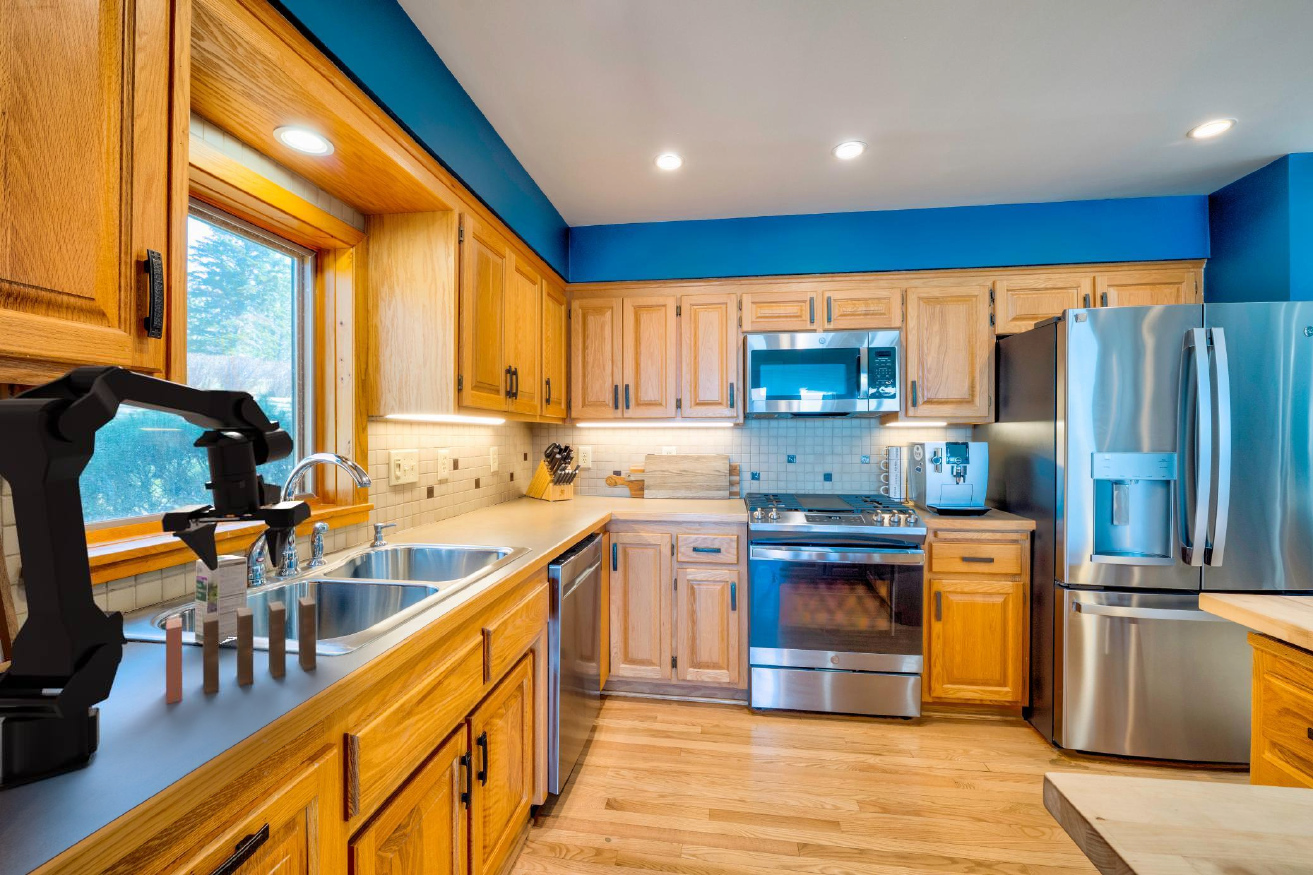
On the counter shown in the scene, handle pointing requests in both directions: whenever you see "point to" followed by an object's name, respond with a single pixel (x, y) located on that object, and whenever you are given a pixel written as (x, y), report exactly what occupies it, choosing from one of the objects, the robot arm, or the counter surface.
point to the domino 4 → (277, 639)
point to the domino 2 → (210, 653)
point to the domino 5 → (307, 633)
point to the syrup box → (221, 594)
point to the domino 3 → (244, 646)
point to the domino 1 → (173, 660)
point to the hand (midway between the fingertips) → (245, 568)
